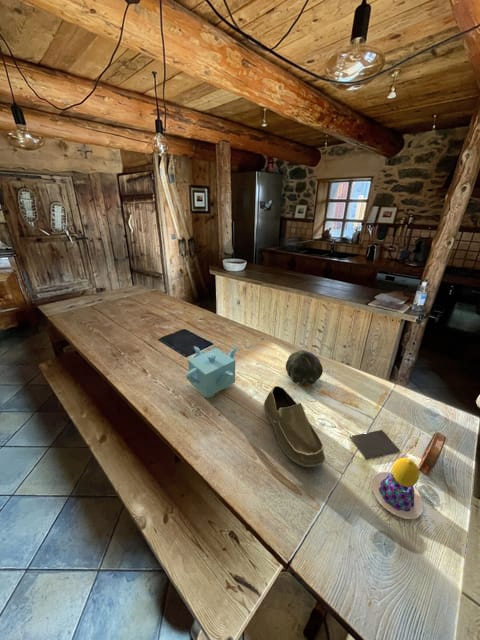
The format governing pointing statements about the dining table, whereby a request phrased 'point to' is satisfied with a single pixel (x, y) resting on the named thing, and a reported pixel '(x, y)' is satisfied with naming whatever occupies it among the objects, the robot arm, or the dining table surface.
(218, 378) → the teal knobbed box
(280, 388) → the loafer
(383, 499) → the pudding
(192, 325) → the dining table surface
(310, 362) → the squash
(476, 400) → the robot arm
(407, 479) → the lemon
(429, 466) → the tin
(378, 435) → the slate coaster
